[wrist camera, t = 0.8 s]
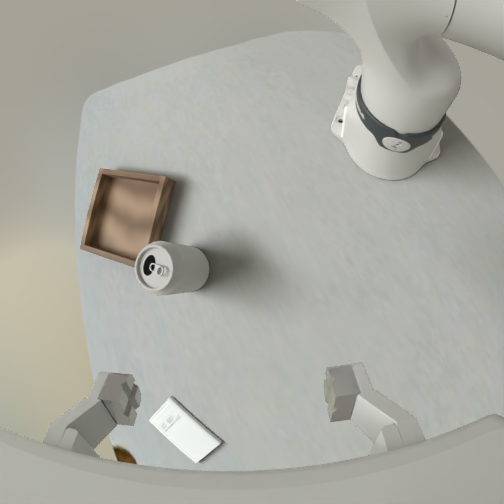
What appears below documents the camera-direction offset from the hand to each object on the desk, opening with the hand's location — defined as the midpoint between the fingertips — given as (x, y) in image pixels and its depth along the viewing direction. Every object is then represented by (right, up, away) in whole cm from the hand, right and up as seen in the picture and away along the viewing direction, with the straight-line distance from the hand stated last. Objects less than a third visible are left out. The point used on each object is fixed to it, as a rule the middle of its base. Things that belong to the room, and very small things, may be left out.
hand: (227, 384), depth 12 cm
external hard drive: (-11, -28, +38) cm, 49 cm away
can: (-9, +3, +39) cm, 40 cm away
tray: (-22, +12, +43) cm, 49 cm away
